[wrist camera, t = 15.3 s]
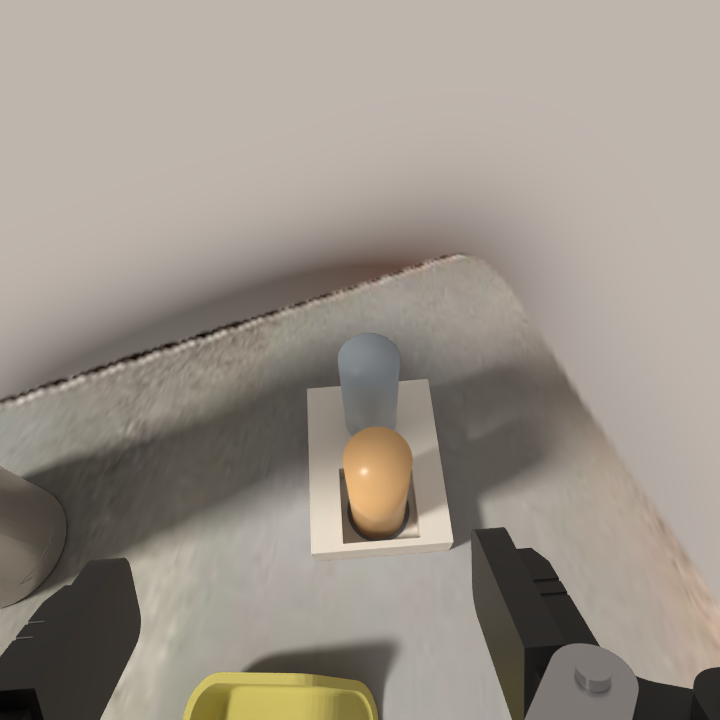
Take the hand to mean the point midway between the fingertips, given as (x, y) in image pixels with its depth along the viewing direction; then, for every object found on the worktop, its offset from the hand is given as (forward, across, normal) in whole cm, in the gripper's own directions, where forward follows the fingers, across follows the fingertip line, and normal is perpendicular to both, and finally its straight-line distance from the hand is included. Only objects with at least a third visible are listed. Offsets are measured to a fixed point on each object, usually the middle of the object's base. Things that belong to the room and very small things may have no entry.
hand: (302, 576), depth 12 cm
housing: (+28, -2, +12) cm, 31 cm away
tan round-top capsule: (+26, -2, +14) cm, 29 cm away
